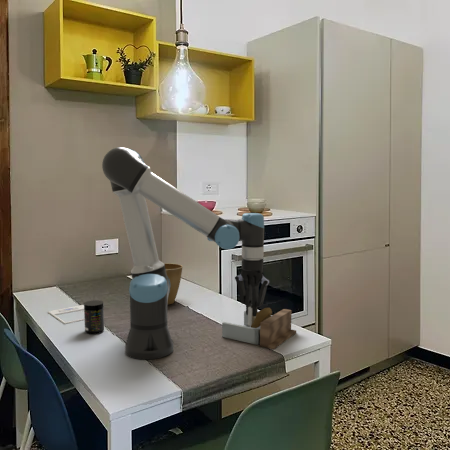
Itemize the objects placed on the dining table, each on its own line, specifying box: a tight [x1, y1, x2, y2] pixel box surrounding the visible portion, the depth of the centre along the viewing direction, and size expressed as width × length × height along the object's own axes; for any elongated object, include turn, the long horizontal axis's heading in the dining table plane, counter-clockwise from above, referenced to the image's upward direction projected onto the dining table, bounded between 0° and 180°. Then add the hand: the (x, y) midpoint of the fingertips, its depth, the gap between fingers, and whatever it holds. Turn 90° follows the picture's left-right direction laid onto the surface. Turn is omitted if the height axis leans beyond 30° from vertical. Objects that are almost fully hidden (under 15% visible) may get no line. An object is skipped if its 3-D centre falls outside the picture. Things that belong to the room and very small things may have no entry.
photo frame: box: [47, 304, 84, 325], centre depth 186 cm, size 15×1×18 cm
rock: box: [249, 307, 273, 328], centre depth 164 cm, size 11×9×10 cm
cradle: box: [221, 310, 260, 346], centre depth 165 cm, size 16×14×5 cm
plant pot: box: [163, 262, 183, 306], centre depth 203 cm, size 15×15×16 cm
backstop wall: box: [259, 308, 297, 350], centre depth 160 cm, size 18×5×8 cm, turn 148°
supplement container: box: [83, 299, 105, 335], centre depth 166 cm, size 7×7×10 cm
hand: (251, 324), depth 165 cm, fingers closed
